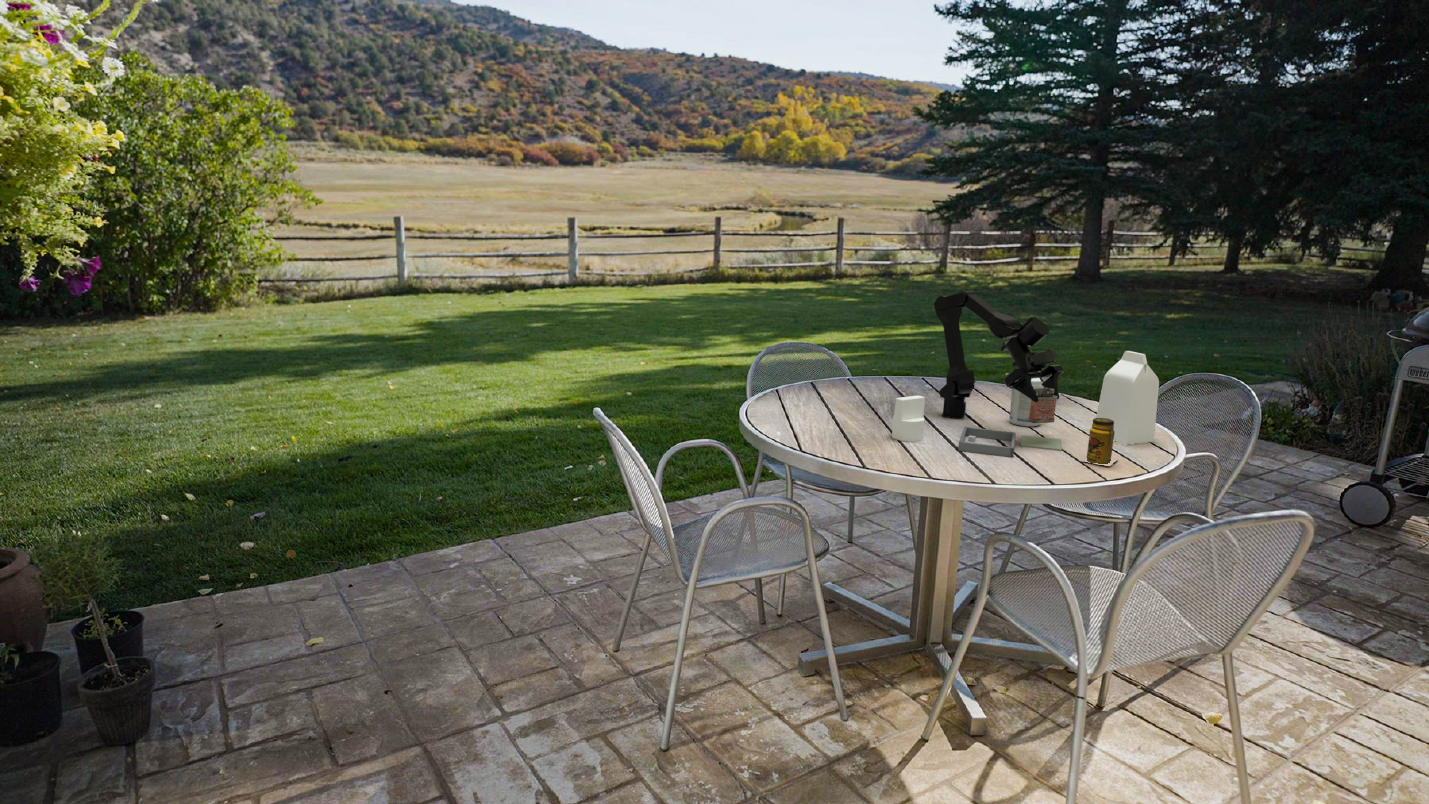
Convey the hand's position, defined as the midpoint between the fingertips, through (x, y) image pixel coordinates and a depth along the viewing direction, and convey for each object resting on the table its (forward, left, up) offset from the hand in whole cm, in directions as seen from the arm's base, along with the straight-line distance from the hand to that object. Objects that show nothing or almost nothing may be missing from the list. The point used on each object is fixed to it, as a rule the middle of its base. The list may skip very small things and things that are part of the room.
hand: (1047, 400), depth 241 cm
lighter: (-1, +1, -7) cm, 7 cm away
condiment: (+15, -11, -14) cm, 23 cm away
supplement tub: (-5, +23, -13) cm, 28 cm away
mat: (0, +1, -13) cm, 13 cm away
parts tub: (-15, -8, -13) cm, 21 cm away
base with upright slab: (-37, -9, -13) cm, 41 cm away
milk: (+23, +18, -13) cm, 32 cm away
